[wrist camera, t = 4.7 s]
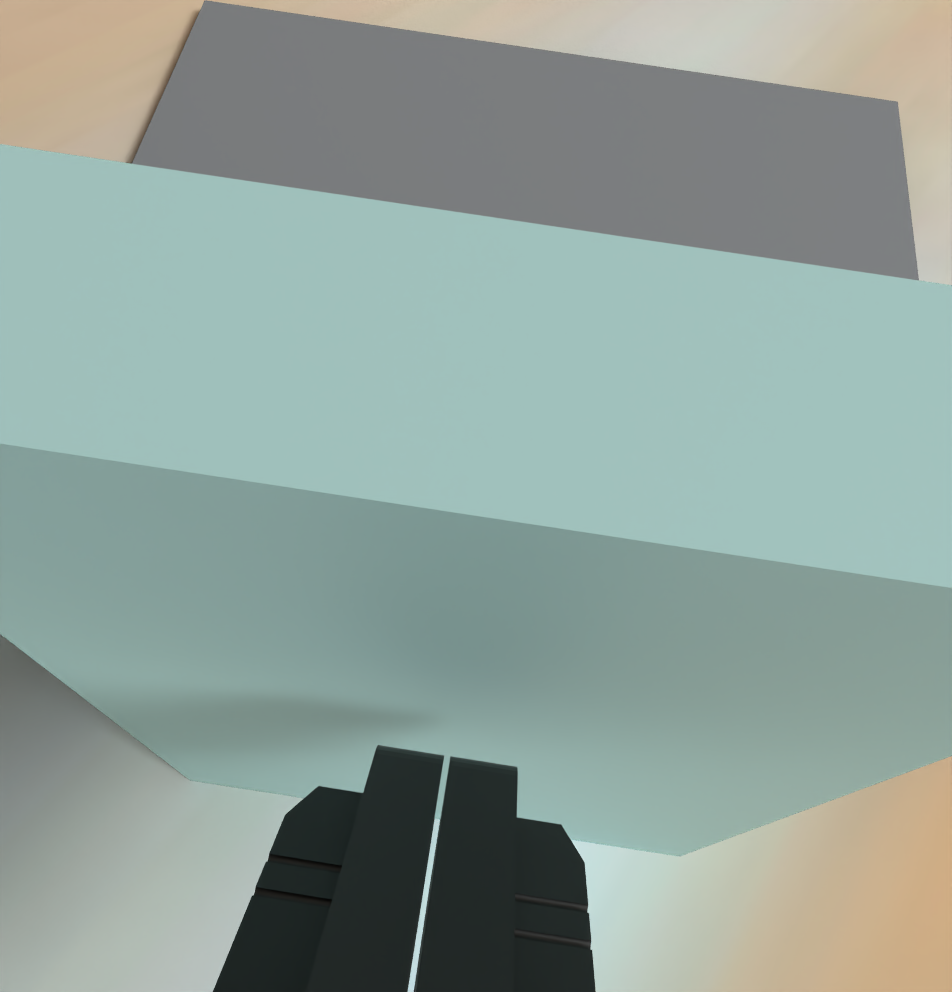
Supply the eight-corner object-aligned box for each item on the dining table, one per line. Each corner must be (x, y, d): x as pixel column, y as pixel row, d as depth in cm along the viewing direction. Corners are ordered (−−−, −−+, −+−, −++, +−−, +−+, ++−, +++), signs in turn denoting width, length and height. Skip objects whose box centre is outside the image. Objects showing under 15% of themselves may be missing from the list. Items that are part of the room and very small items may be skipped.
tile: (679, 856, 18) (1272, 636, 6) (190, 780, 18) (-309, 397, 6) (683, 732, 19) (1181, 319, 7) (223, 661, 19) (-130, 124, 7)
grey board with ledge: (958, 749, 19) (1007, 731, 18) (-44, 595, 19) (-85, 563, 18) (888, 117, 28) (916, 67, 27) (208, 18, 29) (196, -37, 27)
